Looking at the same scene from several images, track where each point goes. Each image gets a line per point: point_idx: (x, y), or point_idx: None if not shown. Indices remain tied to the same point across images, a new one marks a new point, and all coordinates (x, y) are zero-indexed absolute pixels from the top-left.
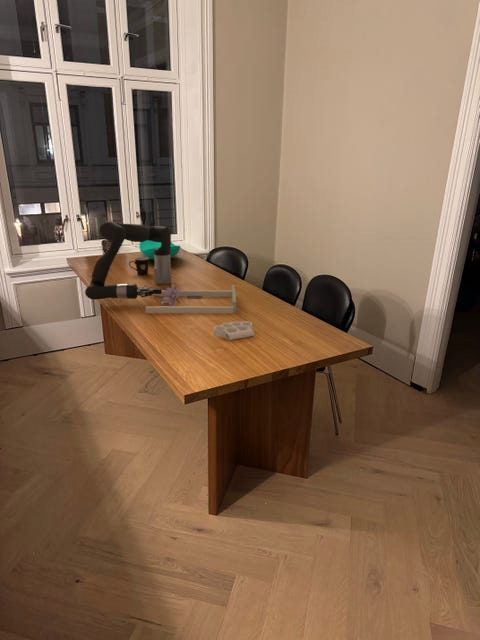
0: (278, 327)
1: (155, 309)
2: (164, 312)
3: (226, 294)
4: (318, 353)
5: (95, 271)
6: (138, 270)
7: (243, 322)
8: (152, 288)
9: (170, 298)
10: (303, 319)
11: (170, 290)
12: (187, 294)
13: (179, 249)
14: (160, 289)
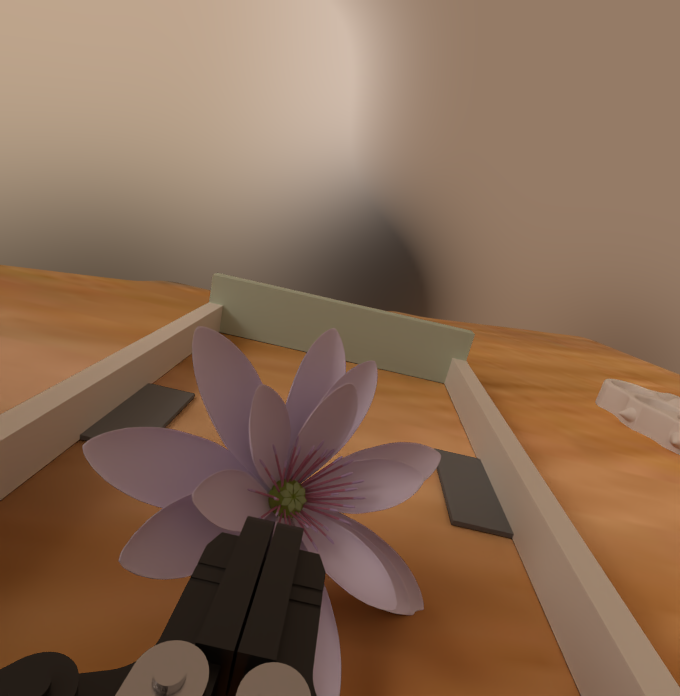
0: (551, 365)
1: None
2: None
3: (211, 328)
4: (674, 376)
5: None
6: None
7: (623, 389)
8: (174, 684)
9: (353, 535)
10: (468, 328)
11: (159, 457)
12: (82, 421)
13: None
14: (279, 527)
